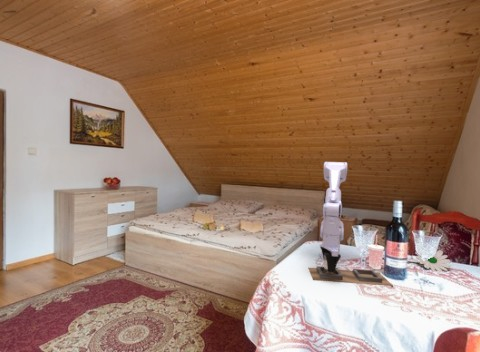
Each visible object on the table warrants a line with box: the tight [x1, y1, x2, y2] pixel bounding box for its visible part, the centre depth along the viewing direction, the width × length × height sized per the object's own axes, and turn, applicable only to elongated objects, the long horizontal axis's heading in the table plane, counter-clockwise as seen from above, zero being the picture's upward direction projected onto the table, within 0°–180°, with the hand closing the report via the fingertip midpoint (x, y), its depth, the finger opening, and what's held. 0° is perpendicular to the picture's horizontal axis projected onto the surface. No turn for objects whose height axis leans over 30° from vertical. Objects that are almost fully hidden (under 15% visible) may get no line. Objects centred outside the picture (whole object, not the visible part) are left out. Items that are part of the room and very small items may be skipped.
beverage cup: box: [367, 234, 385, 270], centre depth 116 cm, size 6×6×14 cm
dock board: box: [308, 266, 394, 288], centre depth 105 cm, size 12×28×2 cm, turn 85°
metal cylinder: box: [323, 255, 335, 274], centre depth 105 cm, size 4×4×8 cm
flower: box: [382, 249, 452, 273], centre depth 123 cm, size 13×6×30 cm
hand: (329, 268), depth 105 cm, fingers open, 6 cm apart
